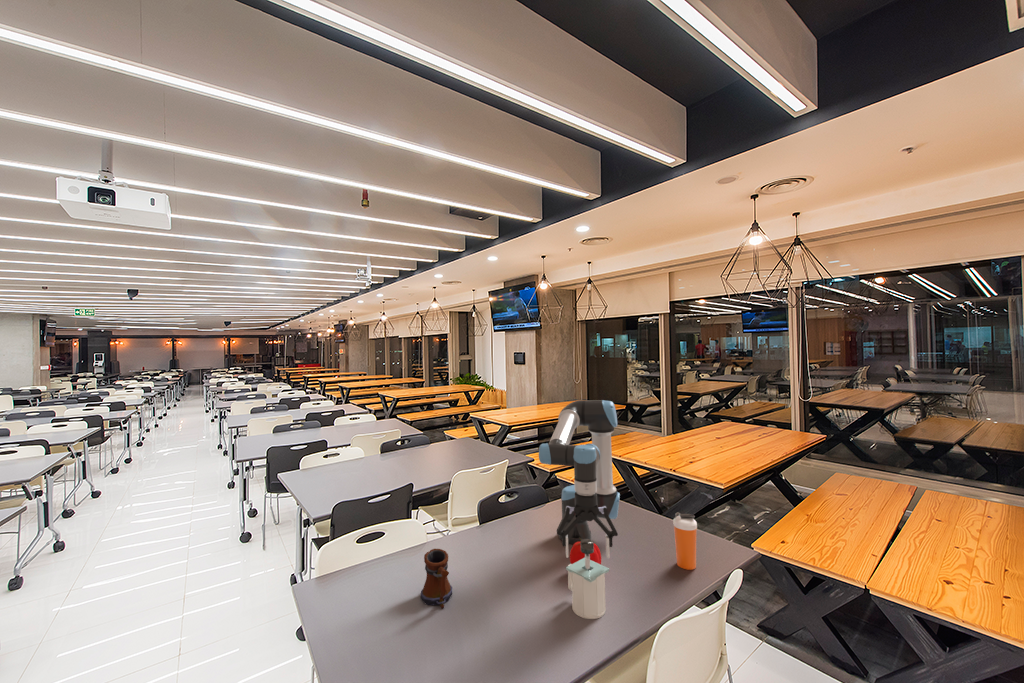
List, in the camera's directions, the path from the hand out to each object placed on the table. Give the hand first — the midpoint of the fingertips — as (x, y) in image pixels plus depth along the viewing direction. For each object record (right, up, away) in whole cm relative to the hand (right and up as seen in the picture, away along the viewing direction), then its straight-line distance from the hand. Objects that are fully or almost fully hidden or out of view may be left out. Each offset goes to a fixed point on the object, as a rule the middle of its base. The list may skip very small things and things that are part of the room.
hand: (587, 556), depth 136 cm
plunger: (0, -14, -1) cm, 14 cm away
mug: (-51, -19, +5) cm, 55 cm away
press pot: (-1, -17, 0) cm, 17 cm away
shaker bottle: (+45, -18, +26) cm, 55 cm away
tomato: (+3, -18, +20) cm, 28 cm away
